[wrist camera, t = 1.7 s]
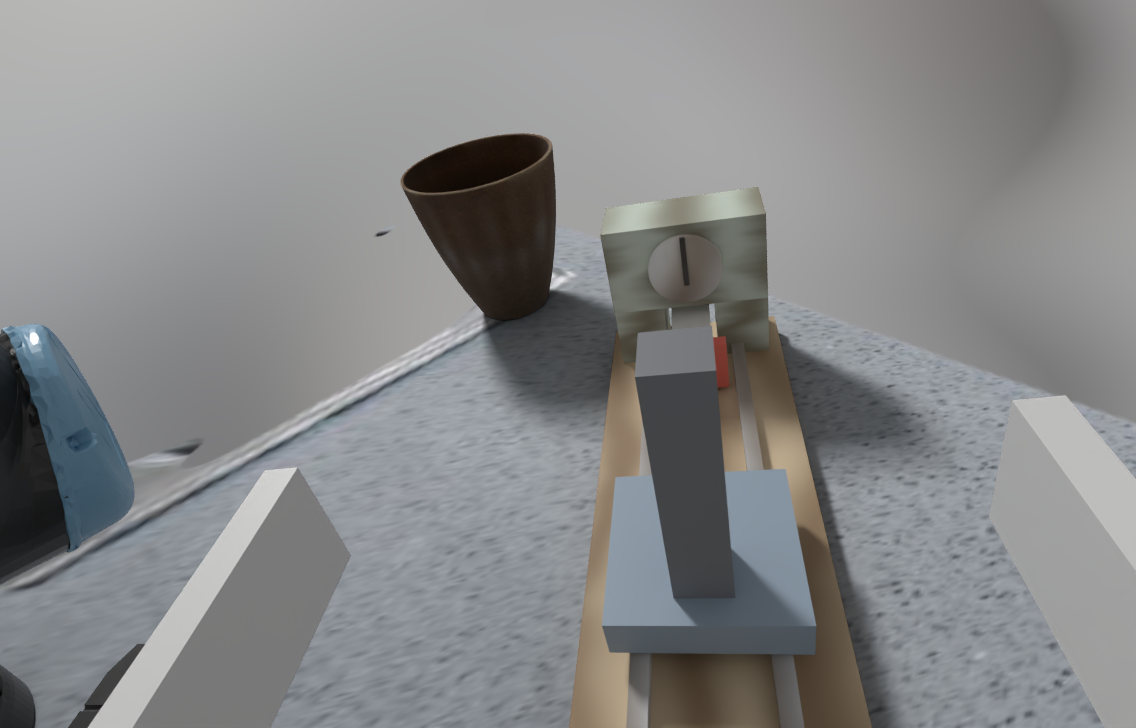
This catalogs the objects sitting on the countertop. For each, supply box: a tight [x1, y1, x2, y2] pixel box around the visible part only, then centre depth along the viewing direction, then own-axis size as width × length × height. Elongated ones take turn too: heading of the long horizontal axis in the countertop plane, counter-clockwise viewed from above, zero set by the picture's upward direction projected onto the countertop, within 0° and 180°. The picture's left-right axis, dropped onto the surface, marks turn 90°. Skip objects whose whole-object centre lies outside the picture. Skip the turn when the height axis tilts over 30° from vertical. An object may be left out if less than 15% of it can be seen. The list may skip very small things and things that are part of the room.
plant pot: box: [401, 133, 556, 320], centre depth 67 cm, size 15×15×16 cm
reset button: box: [672, 304, 729, 388], centre depth 52 cm, size 5×7×4 cm
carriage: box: [602, 326, 816, 655], centre depth 32 cm, size 10×10×16 cm
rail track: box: [569, 187, 872, 728], centre depth 40 cm, size 14×38×14 cm, turn 173°
